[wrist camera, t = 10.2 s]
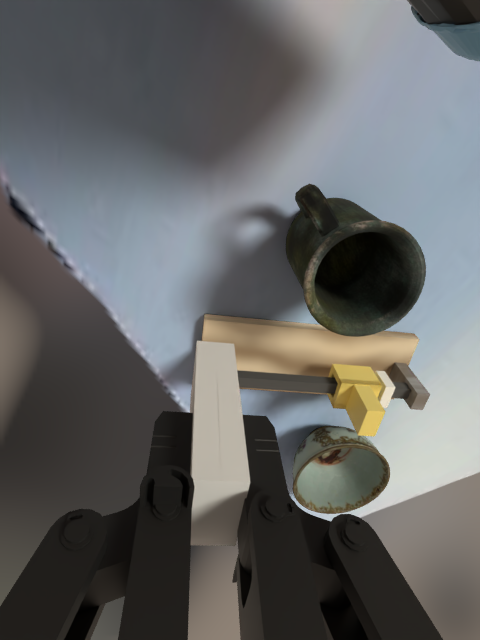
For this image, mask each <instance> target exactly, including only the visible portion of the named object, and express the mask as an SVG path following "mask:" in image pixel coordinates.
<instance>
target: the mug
mask: <svg viewBox="0 0 480 640" xmlns="http://www.w3.org/2000/svg"><path fill="white" fill-rule="evenodd" d="M295 199H296V202H297V204H298V206H299V208H300V210H301V212H300V214H299V215H298V216H297V217H296V218H295V220H294V221H293V223H292V225H291V227H290V229H289V232H288V235H287V240H286V253H287V258H288V260H289V263H290V265H291V267H292V269H293V271H294V273H295V275H296V276H297V278H298V280H299V282H300V284H301V286H302V288H303V290H304V297H305V302H306V304H307V307H308V309H309V311H310V313H311V315H312V316H313V317H314V318H315V320H316V321H317V322H318V323H319V324H321V325H322V326H323V327H324V328H326V329H328V330H330V331H331V332H334V333H336V334H339V335H344V336H351V337H360V336H368V335H373V334H376V333H379V332H381V331H384V330H386V329H388V328H390V327H391V326H393V325H394V324H396V323H397V322H399V321H400V320H401V319H402V318H403V317H404V316H406V314H407V313H408V312H409V311H410V310H411V309H412V307H413V306H414V305H415V303H416V302H417V300H418V298H419V296H420V294H421V292H422V289H423V286H424V281H425V276H426V265H425V259H424V255H423V252H422V250H421V247H420V246H419V244H418V242H417V241H416V239H415V238H414V237H413V236H412V235H411V234H410V233H409V232H407V231H406V230H405V229H404V228H402V227H400V226H398V225H396V224H393V223H389V222H386V221H381V220H380V219H378V218H377V217H375V216H374V215H372V214H371V213H369V212H368V211H366V210H364V209H363V208H361V207H360V206H358V205H357V204H355V203H353V202H351V201H349V200H346V199H342V198H327V199H326V198H325V196H324V195H323V194H322V192H321V191H320V189H319V188H318V187H316V186H315V185H312V184H308V185H306V186H304V187H302V188H301V189H300V190H299V191H298V192H296V196H295Z"/></svg>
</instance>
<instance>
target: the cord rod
mask: <svg viewBox="0 0 480 640" xmlns="http://www.w3.org/2000/svg"><path fill="white" fill-rule="evenodd" d="M237 373H238V381H239V387H242V388H257V389H271V390H285V391H300V392H314V393H329V394H335V391H336V388H337V385H338V383H337V381H336V379H335V378H333V377H320V376H307V375H293V374H280V373H267V372H254V371H240V370H237ZM392 383H393V384H394V386H395V387H396V388H395V390H394V392H393V395H392V397H391V398H401V399H407V398H408V396H409V394H410V392H411V389H410V388H409V386H408V385H407V383H400V382H392Z"/></svg>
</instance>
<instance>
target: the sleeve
mask: <svg viewBox="0 0 480 640" xmlns="http://www.w3.org/2000/svg"><path fill="white" fill-rule="evenodd" d="M328 377H333V378H335V379H336V381H337V383H338V385H337V388H336V391H335V394H329V393H327V394H328V397H329V399H330V402H331V404H332V406H333V408H339V409H346V411H347V413H348V415H349V417H350V419H351V422H352V424H353V426H354V428H355V430H356V432H357V435H359V436H375V435H376V432H377V430H378V428H379V425H380V423H381V421H382V418H383V416H384V414H385V410H384V409H383V407H382V405H381V403H380V402H379V400H378V396H379V393H380V391H381V388H382V384H381V383H380V381H379V380H378V378H377V377H376V375H375V373H374V372H373V370H372V369H371V367H367V366H354V365H342V364H332V367H331V370H330V373H329V376H328Z"/></svg>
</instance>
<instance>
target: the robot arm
mask: <svg viewBox="0 0 480 640" xmlns="http://www.w3.org/2000/svg"><path fill="white" fill-rule="evenodd" d="M407 1H408V2H409V3H410V4H411V5H412V7H411V10H412V13H413V15H414V16H415V18H416V19H417V21H418V22H419V23H420V24H421V25H423V26H425V27H427V28H428V29H429V30H433V31H434V32H435V34H436V35H437V36H438V37H439V38H440V39H441V40H442V41H443V42H444V43H445V44H446V45H447V46H448V47H449V48H450V49H451V50H452V51H453V52H454V53H455V54H457V55H459V56H462V57H465V58H467V59H469V60H475V61H480V0H407ZM237 537H238V549H239V554H238V558H237V562H236V566H235V570H234V574H233V582H237V586H238V603H239V619H240V635H241V640H443V639H442V638H441V636H440V634H439V632H438V631H437V629H436V628H435V626H434V624H433V623H432V621H431V620H430V618H429V616H428V615H427V613H426V612H425V610H424V609H423V607H422V605H421V604H420V602H419V601H418V599H417V597H416V596H415V595H414V593H413V591H412V590H411V588H410V586H409V585H408V584H407V582H406V580H405V578H404V577H403V575H402V574H401V572H400V570H399V569H398V567H397V566H396V564H395V563H394V561H393V559H392V558H391V556H390V555H389V553H388V551H387V550H386V548H385V547H384V545H383V543H382V542H381V540H380V539H379V537H378V536H377V534H376V532H375V531H374V530H373V529H372V528H371V527H370V525H369V524H368V523H367V522H365V521H364V520H362V519H361V518H359V517H357V516H354V515H351V514H340V515H338V516H336V517H334V518H333V520H332V521H331V522H330V521H327V520H324V519H321V518H318V517H316V516H313V515H310V514H308V513H306V512H304V511H303V510H302V509H300V508H299V507H298V506H297V505H296V503H295V502H294V501H293V500H292V499H291V497H290V496H289V493H288V490H287V485H286V480H285V476H284V471H283V466H282V462H281V457H280V453H279V447H278V443H277V438H276V433H275V428H274V426H273V425H272V424H271V422H270V421H269V419H268V418H267V417H266V416H253V415H242V407H241V398H240V390H239V381H238V373H237V364H236V356H235V347H234V344H231V343H219V342H207V341H197V344H196V353H195V362H194V371H193V381H192V390H191V404H190V413H186V412H168V411H167V412H166V411H163V412H162V413H161V415H160V416H159V417H158V419H157V420H156V421H155V425H154V431H153V438H152V444H151V451H150V456H149V463H148V469H147V475H146V476H144V478H143V480H142V483H141V485H140V498H139V499H138V500H137V501H136V502H135V503H134V504H133V505H132V506H130V507H128V508H127V509H125V510H122V511H120V512H117V513H113V514H110V515H106V516H103V517H102V516H101V514H99V513H97V512H95V511H93V510H90V509H79V510H75V511H72V512H68V513H67V514H65V515H64V516H62V517H60V518H59V519H58V520H57V521H56V522H55V523H54V525H53V526H52V527H51V528H50V530H49V531H48V533H47V534H46V536H45V537H44V539H43V540H42V542H41V543H40V545H39V547H38V548H37V550H36V551H35V553H34V555H33V556H32V558H31V559H30V561H29V562H28V564H27V566H26V567H25V569H24V570H23V572H22V573H21V575H20V576H19V578H18V580H17V581H16V583H15V584H14V586H13V587H12V589H11V591H10V592H9V594H8V595H7V597H6V599H5V600H4V601H3V603H2V605H1V606H0V640H90V639H91V636H92V634H93V632H94V629H95V627H96V625H97V622H98V620H99V617H100V615H101V613H102V610H103V608H104V606H105V603H107V602H110V601H112V600H115V599H118V598H121V597H123V596H125V600H124V606H123V612H122V618H121V625H120V631H119V637H118V640H187V639H188V611H189V610H188V609H189V580H190V578H189V577H190V549H191V548H190V547H191V545H221V546H222V545H223V546H226V545H227V546H235V545H236V541H237Z"/></svg>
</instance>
